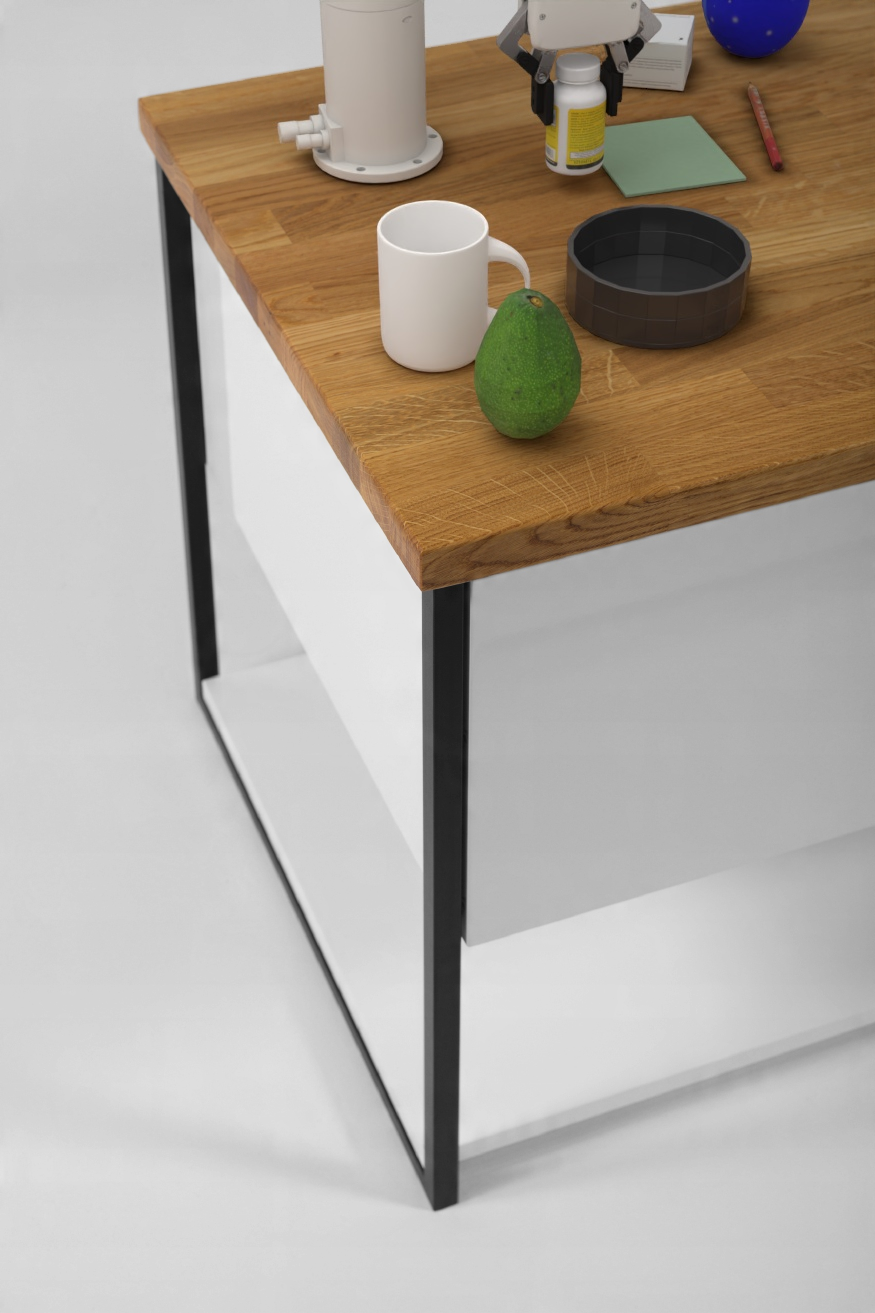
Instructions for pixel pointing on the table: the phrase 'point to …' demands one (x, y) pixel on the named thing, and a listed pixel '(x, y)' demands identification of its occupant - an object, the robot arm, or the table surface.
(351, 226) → the table surface
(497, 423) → the avocado
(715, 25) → the ornament
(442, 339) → the mug
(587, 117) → the supplement bottle
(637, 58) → the small box
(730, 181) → the cloth
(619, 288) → the pan
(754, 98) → the pencil
